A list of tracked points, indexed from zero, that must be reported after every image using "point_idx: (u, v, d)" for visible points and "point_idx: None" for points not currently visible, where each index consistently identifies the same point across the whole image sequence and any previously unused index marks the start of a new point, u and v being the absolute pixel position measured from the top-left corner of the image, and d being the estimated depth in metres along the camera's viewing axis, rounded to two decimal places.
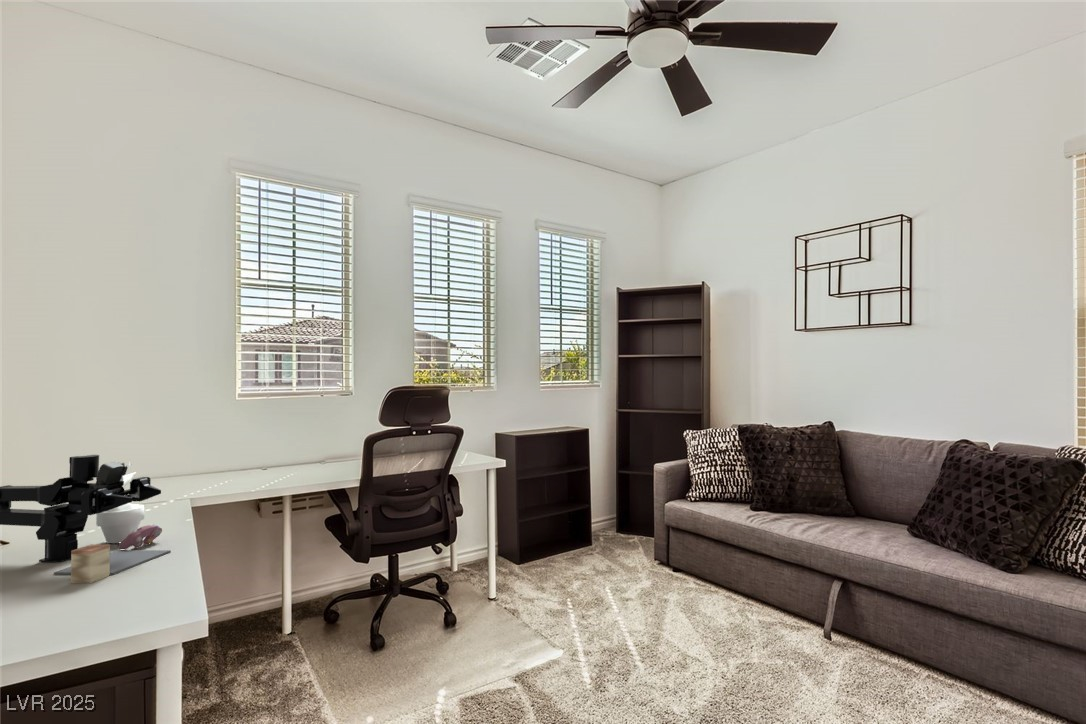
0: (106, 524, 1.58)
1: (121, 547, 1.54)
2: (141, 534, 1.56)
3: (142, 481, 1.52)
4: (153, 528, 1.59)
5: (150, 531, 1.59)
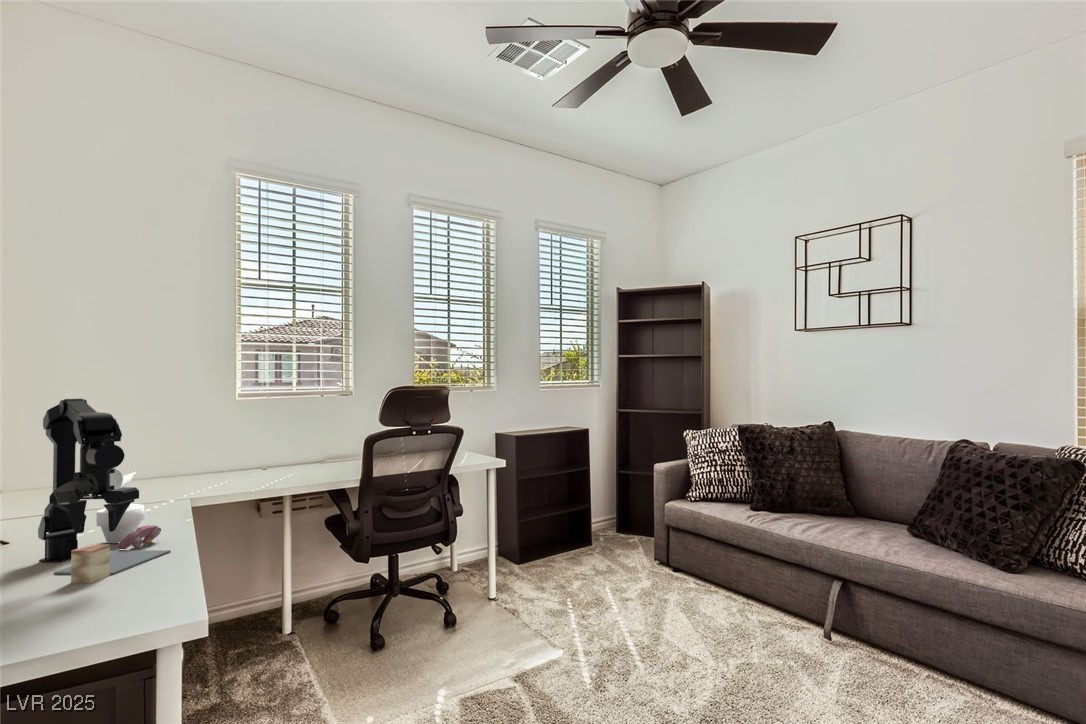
0: (106, 524, 1.58)
1: (120, 547, 1.54)
2: (140, 534, 1.56)
3: (106, 507, 1.29)
4: (152, 528, 1.59)
5: (149, 531, 1.59)
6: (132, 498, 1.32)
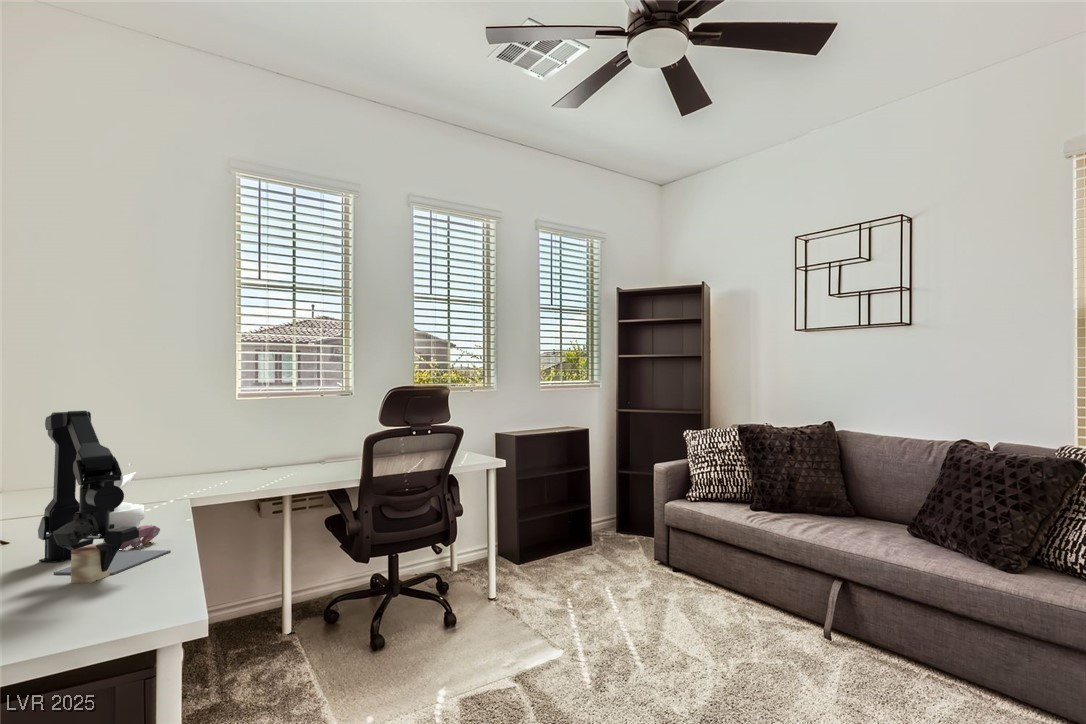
0: None
1: None
2: (139, 534, 1.56)
3: (98, 547, 1.29)
4: (151, 528, 1.59)
5: (148, 531, 1.59)
6: (132, 538, 1.31)
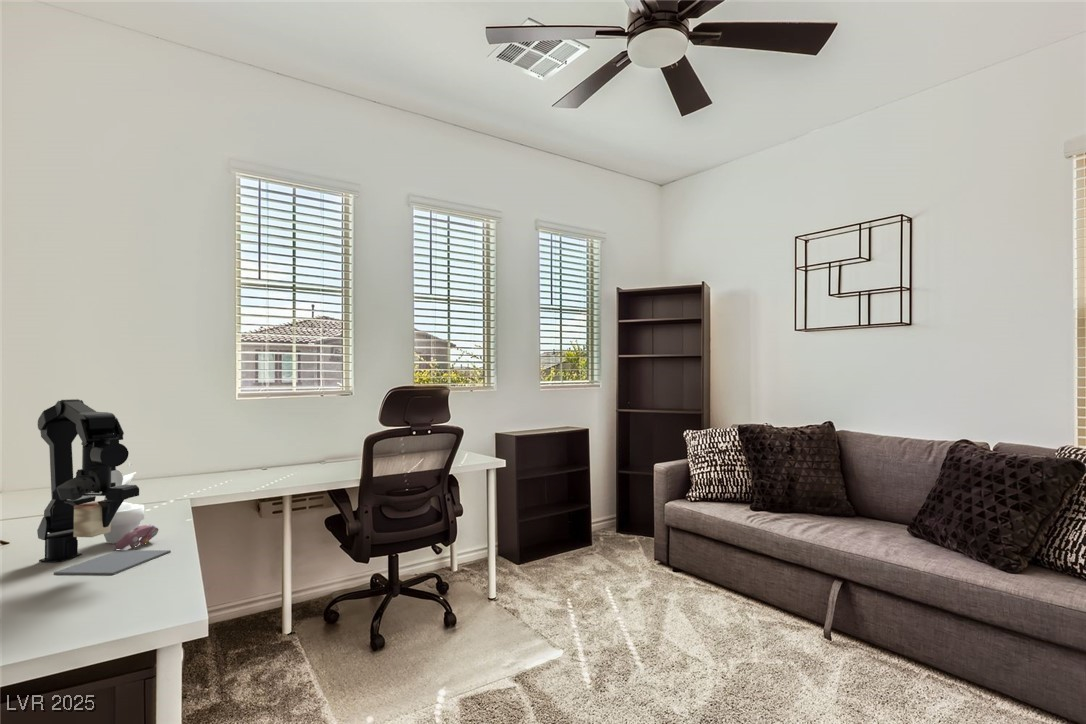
0: None
1: (117, 547, 1.54)
2: (138, 534, 1.56)
3: (100, 503, 1.33)
4: (149, 528, 1.59)
5: (146, 531, 1.59)
6: (132, 495, 1.36)
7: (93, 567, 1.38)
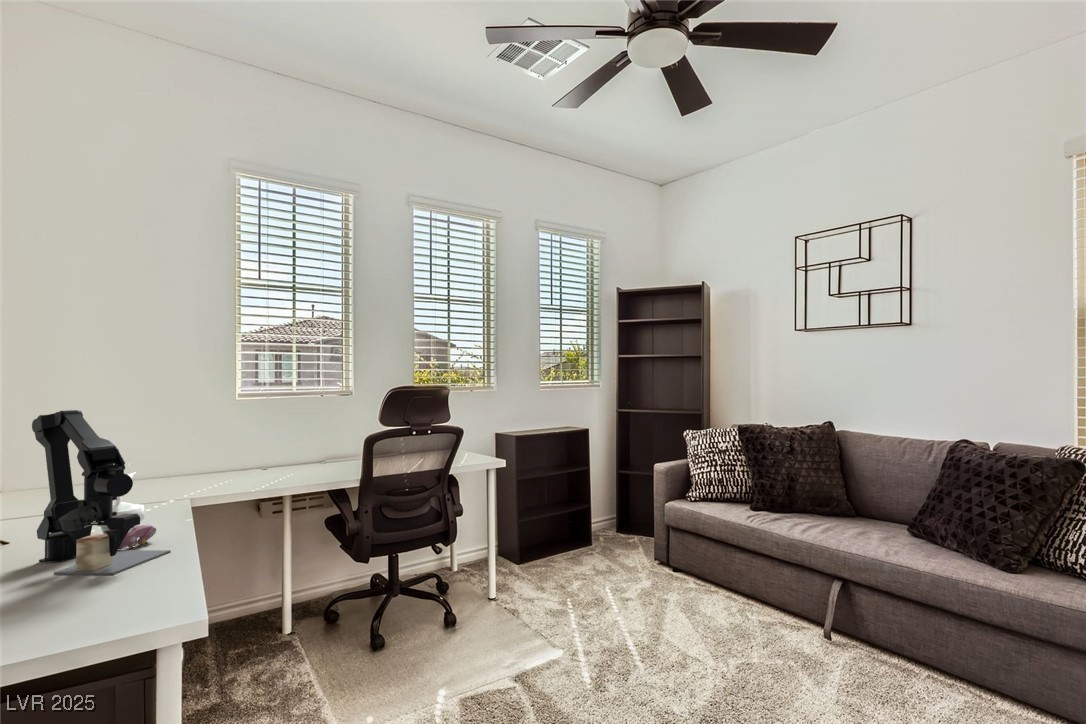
0: None
1: None
2: (136, 534, 1.56)
3: (107, 533, 1.36)
4: (147, 528, 1.60)
5: (144, 531, 1.59)
6: (133, 524, 1.39)
7: None
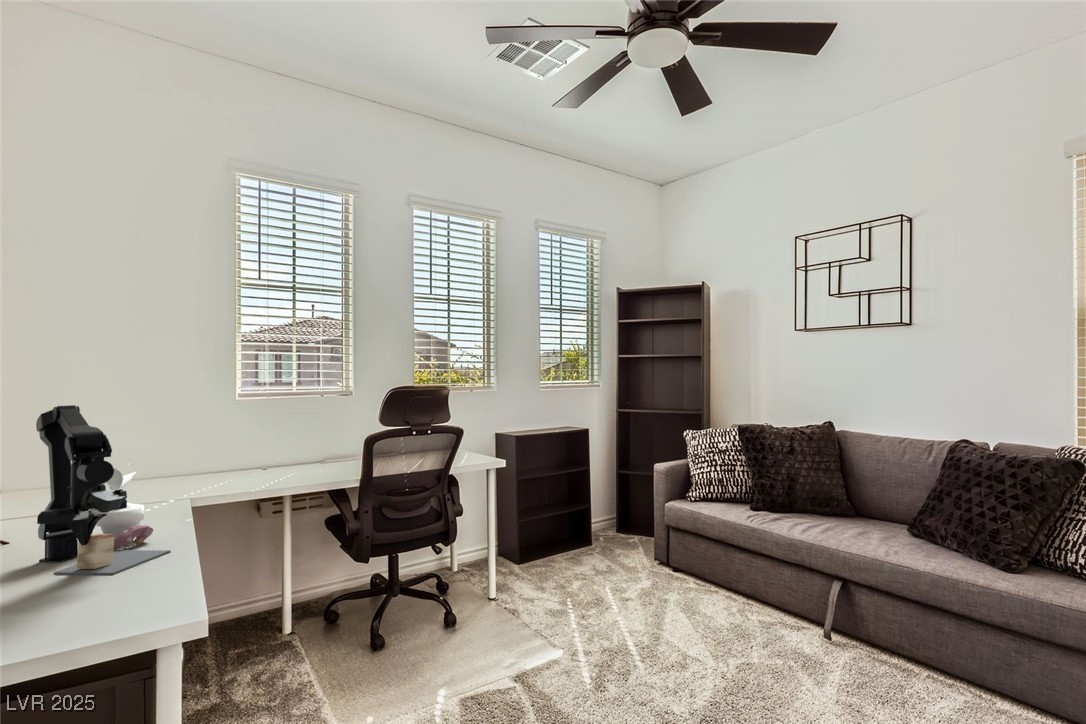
0: (106, 524, 1.58)
1: None
2: (132, 534, 1.56)
3: (97, 518, 1.36)
4: (144, 528, 1.60)
5: (141, 531, 1.59)
6: None
7: None
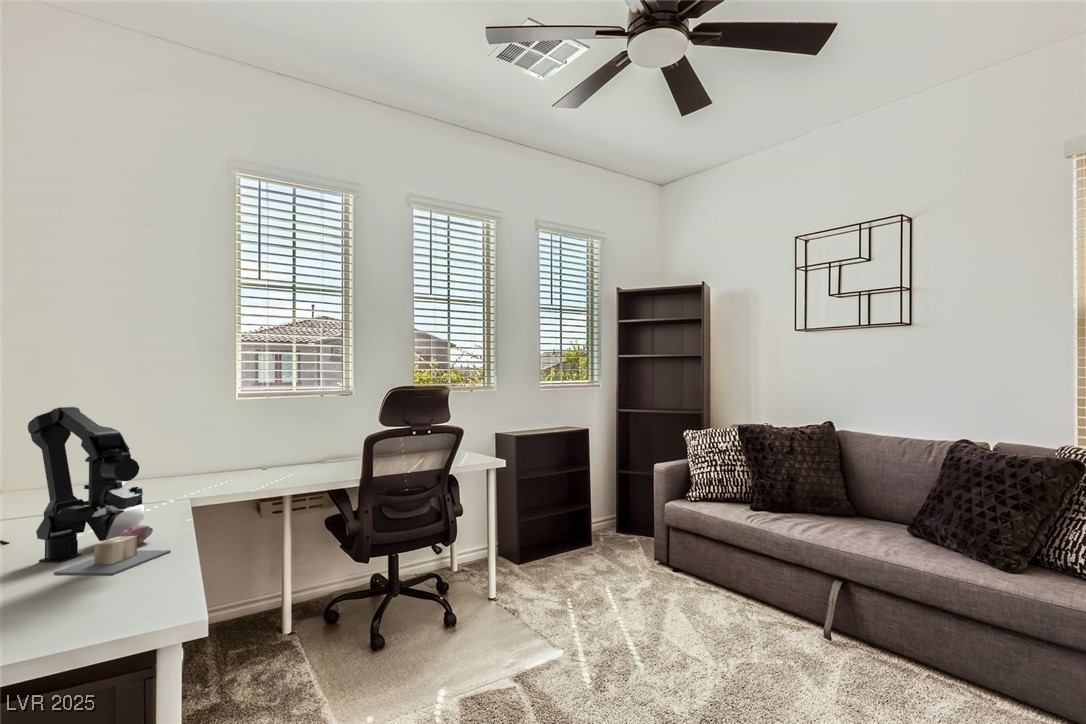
0: None
1: None
2: (132, 534, 1.56)
3: (115, 514, 1.41)
4: (144, 528, 1.59)
5: (141, 531, 1.59)
6: None
7: (93, 567, 1.38)
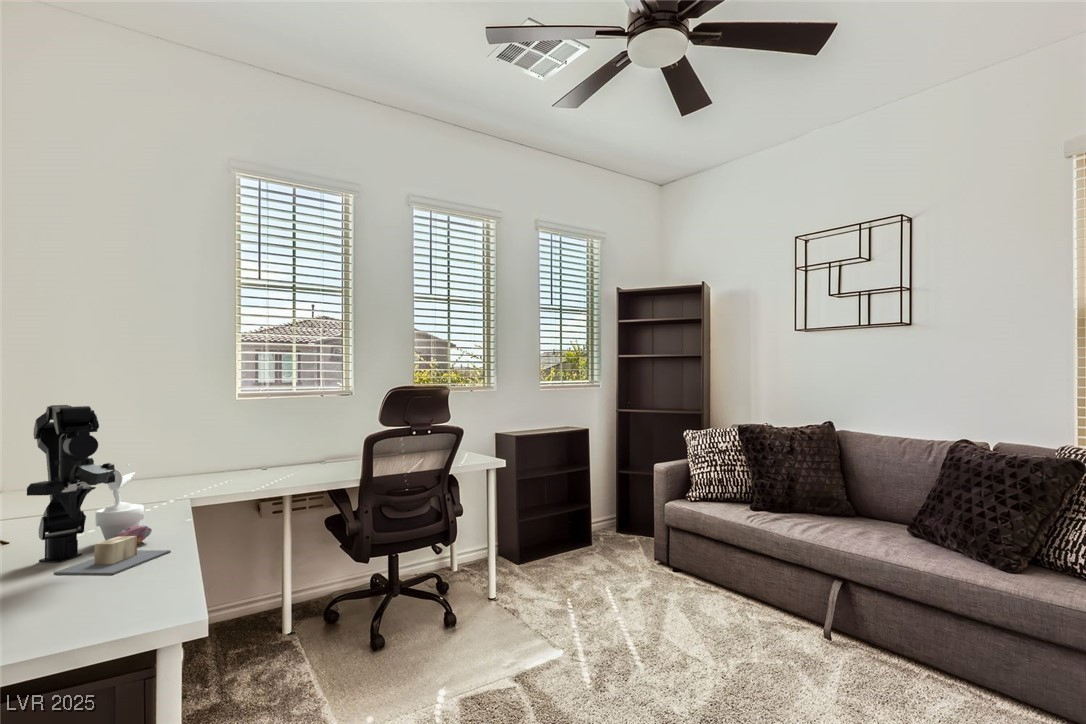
0: (105, 524, 1.58)
1: None
2: (129, 534, 1.55)
3: (86, 491, 1.40)
4: (142, 528, 1.59)
5: (139, 531, 1.59)
6: None
7: (93, 567, 1.38)
